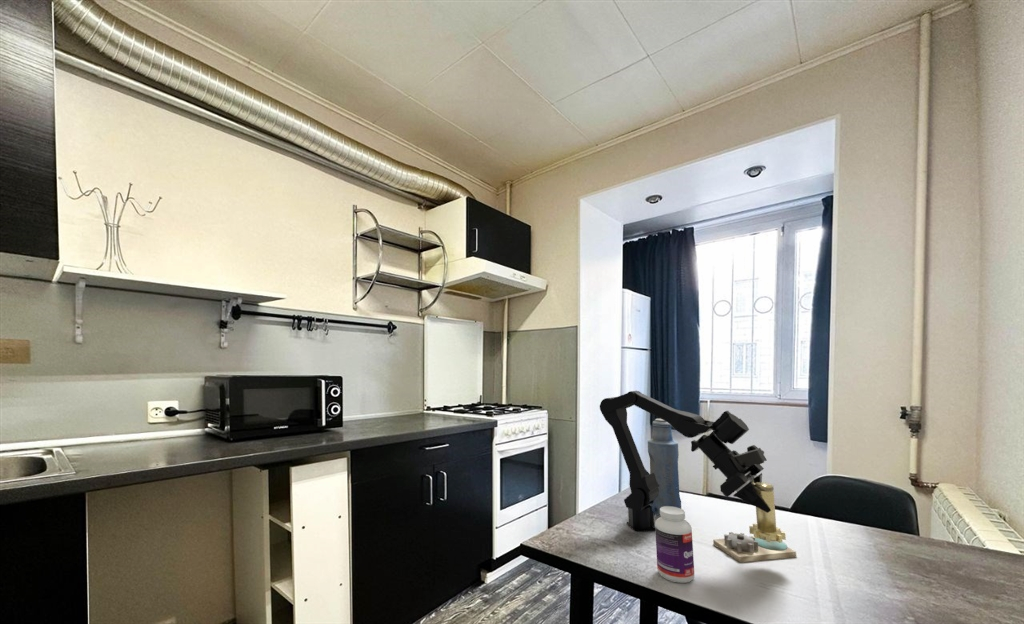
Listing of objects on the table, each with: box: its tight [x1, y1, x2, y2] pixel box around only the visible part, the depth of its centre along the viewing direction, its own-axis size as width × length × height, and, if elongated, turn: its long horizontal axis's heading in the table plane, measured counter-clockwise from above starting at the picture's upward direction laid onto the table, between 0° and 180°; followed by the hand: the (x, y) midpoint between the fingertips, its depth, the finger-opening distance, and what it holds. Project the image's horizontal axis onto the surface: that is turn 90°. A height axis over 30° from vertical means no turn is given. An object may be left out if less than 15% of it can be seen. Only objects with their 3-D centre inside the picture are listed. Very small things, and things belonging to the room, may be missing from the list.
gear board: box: [712, 531, 797, 563], centre depth 105 cm, size 17×10×4 cm, turn 99°
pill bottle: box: [654, 506, 695, 584], centre depth 94 cm, size 8×8×14 cm
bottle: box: [647, 418, 682, 516], centre depth 134 cm, size 10×10×30 cm
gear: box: [749, 482, 786, 543], centre depth 99 cm, size 7×7×12 cm
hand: (771, 509), depth 98 cm, fingers closed on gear, 4 cm apart
